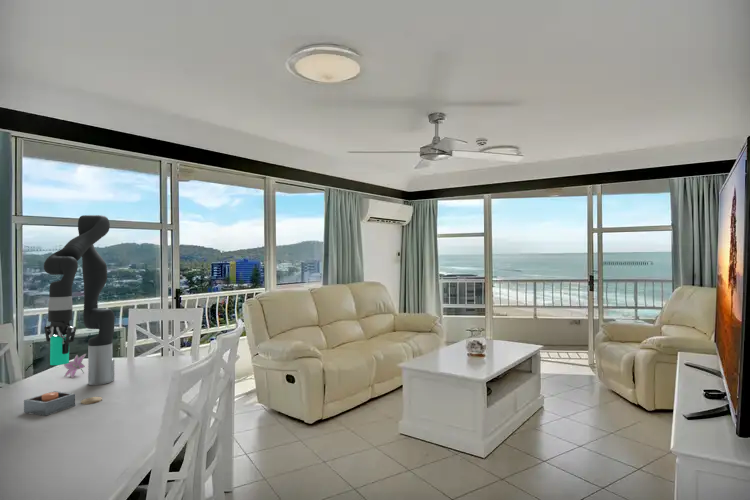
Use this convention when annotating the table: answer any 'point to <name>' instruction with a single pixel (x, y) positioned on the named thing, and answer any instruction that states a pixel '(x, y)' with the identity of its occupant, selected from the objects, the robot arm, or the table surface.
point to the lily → (74, 365)
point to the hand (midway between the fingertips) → (59, 353)
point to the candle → (57, 352)
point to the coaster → (91, 400)
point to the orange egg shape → (49, 396)
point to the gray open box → (49, 404)
